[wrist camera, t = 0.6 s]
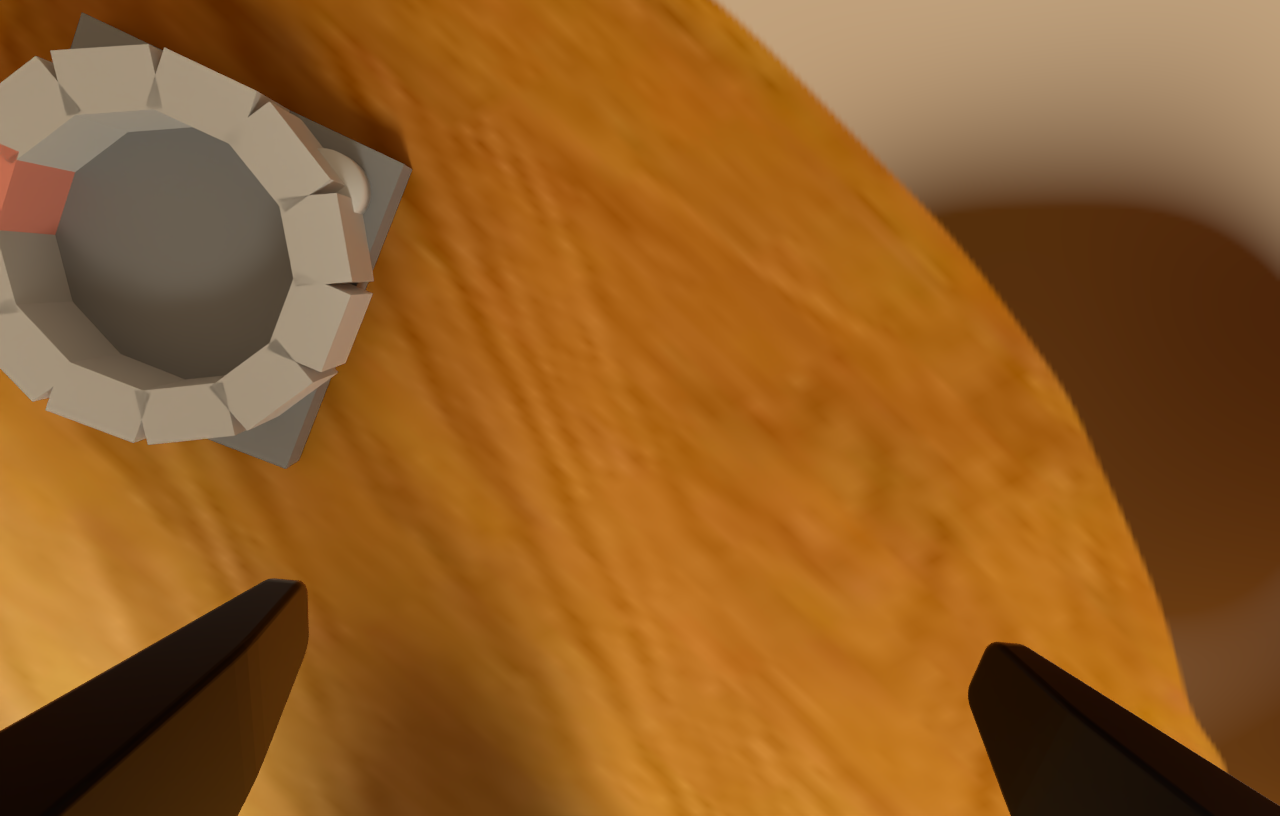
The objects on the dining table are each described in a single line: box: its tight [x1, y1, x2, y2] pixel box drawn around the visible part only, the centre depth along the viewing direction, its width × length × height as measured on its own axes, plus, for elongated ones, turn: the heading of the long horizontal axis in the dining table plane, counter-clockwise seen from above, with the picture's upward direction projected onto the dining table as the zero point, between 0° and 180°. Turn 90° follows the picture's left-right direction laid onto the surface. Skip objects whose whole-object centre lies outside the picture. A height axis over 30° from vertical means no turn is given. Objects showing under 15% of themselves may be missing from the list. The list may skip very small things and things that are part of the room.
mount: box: [0, 13, 412, 469], centre depth 19 cm, size 10×10×3 cm
